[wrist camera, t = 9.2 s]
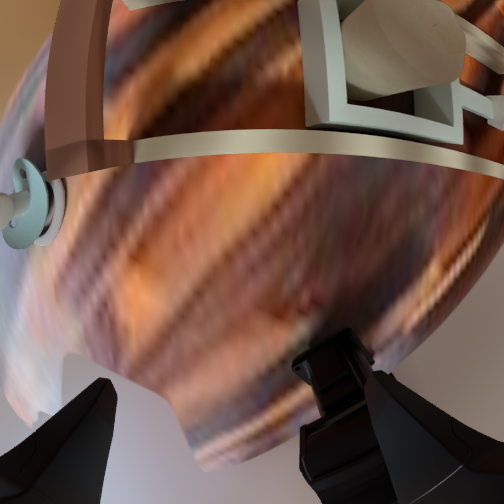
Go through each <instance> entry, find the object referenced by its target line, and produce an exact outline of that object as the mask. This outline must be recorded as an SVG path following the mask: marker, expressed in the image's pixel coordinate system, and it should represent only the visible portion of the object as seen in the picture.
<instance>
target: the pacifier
mask: <svg viewBox="0 0 504 504" xmlns="http://www.w3.org/2000/svg"><path fill="white" fill-rule="evenodd" d="M22 169H24V170H25V172H26V175H27V177H26V178H25V177H24V176H23V174H22ZM45 181H47V182H48V183H49V184H50V185H51V187H52V189H53V192H54V199H55V208H54V215H53V219H52V222H51V225H50V227H49V229H48V231H47V232H46V233H45V234H43V235H41V232H42V230H43V228H44V225H45V222H46V219H47V215H48V208H49V197H48V190H47V186H46V183H45ZM13 182H14V188H15V192H16V193H14V194H11V195H7V194H5V193H0V231H1V230H2V231H3V237H4V240H5V242H6V243H7V244H8V245H9V246H10V247H11V248H14V249H23V248H26V247H28V246H30V245H31V244H32V243H33V242H34V243H35V244H36V245H39V246H46V245H48V244H49V243H51V242H52V240H53V239H54V238H55V237H56V235H57V233H58V231H59V229H60V226H61V223H62V221H63V216H64V210H65V191H64V187H63V183H62V181H61V179H56V180H52V181H48V177H47V171H43V172H42V173H41V172H40V171H39V169H38V168H37V167H36V165H35V164H34V163H33V162H31V161H30V160H29V159H26V158H19V159H17V160H16V161H15V164H14V167H13ZM14 218H16V220H17V224H16V226H15V227H13V226H12V225H11V221H12V219H14Z"/></svg>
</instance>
